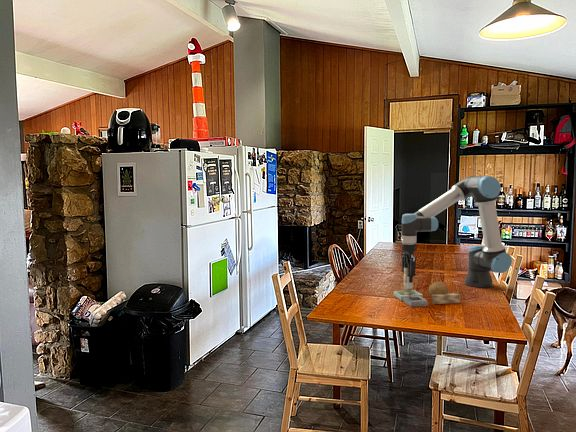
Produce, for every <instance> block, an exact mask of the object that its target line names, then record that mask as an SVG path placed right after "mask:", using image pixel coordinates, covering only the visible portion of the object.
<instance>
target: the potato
mask: <svg viewBox="0 0 576 432" xmlns="http://www.w3.org/2000/svg"><path fill="white" fill-rule="evenodd" d="M428 293H429V295H430V296H431V297H432V295H434V294H449V288H448V287H447V285H446V283H443V282H441V281H436V282H433V283H431V284H430V286H429V287H428Z"/></svg>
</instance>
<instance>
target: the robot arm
mask: <svg viewBox="0 0 576 432" xmlns="http://www.w3.org/2000/svg"><path fill="white" fill-rule="evenodd" d="M501 191H502V190H501V183H500V182H499V180H498V179H497V177H494V176H491V175H470V176H467V177H465V178H463V179H461V180H460V181H458V182H457V183H455V184H454V185H452V186H451V189H449V190H448V191H446V192H445V193H443V194H442V195H440V196H439V197H438V198H435V199H434V200H432V201H431V202H430V203H428V204H426V205H425V206H423V207H421V208H420V209H418V211H416V212H414V213H404V214H402V216H401V237H400V239H401V247H400V249H401V251H402V252H403V253H401V254H400V255H401V272H402V273H403V275H404V268H408V275H407V288H408V289H411V288H412V289H413V288H414V287H413V286H414V277H415V276H416V266H417V265H416V263H417V257H415V255H414V252H416V251H417V234H418V232H419V233H420V232H435V231H437V230H438V229H439V220H438V219H437V218H436V216H438V215H439V214H440V213H442V212H443V211H445V210H446V209H448V208H450V207H451V206H452V205H454V204H456V203H457V202H459V201H463V200H465V199H467V198H470V197H473V200H474V203H475V204H476V205H478V207H477V208H478V211H479V219H480V223H481V231H482V236H483V243H484V245H471V246H469V249H468V269H467V273H466V275H465V279H464V284H465V285H466V286H469V287H474V288H491V287H493V284H494V282H493V281H494V280H493V277H492V276H491V272H493V273H497V274H502V273H503V274H504V273H505V272H507V271H509V269H510V268H511V266H512V264H513V262H512V261H513V259H512V256H511V255H510V254H509V253H508V252H507V250H506V246H505V245H503V244H502V238H501V233H500V225H499V219H498V213H497V206H496V202H497V200H498V196H499V195H500V192H501Z"/></svg>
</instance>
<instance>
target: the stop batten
mask: <svg viewBox="0 0 576 432" xmlns="http://www.w3.org/2000/svg"><path fill="white" fill-rule="evenodd" d="M431 303H432V304H434V305H438V304H439V305H441V304H459V303H461V294H460V293H457V292H454V293H448V294H434V295H432V296H431Z"/></svg>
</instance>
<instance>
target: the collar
mask: <svg viewBox="0 0 576 432" xmlns="http://www.w3.org/2000/svg"><path fill="white" fill-rule="evenodd" d="M402 302H403V303H404V304H406V305H408V307H426V306H427V307H428V306H429V301H428V300H427V299H426V298H424V297H423V298H422V297H421V296H410V297H403V301H402Z"/></svg>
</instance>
